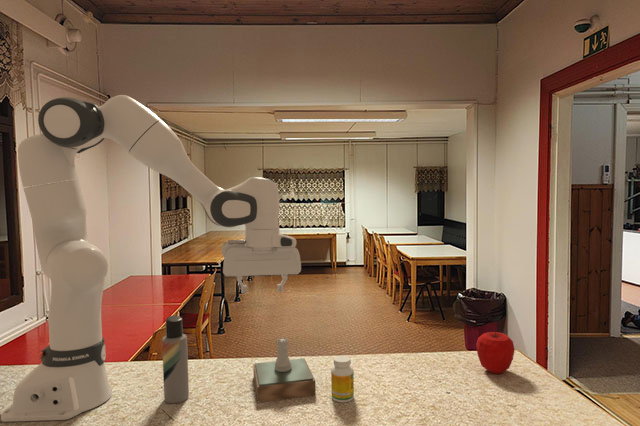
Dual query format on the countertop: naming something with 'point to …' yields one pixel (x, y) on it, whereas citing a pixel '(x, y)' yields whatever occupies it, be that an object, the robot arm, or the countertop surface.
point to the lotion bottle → (175, 361)
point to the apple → (495, 351)
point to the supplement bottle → (342, 380)
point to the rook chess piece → (282, 356)
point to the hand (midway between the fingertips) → (262, 291)
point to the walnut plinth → (283, 381)
